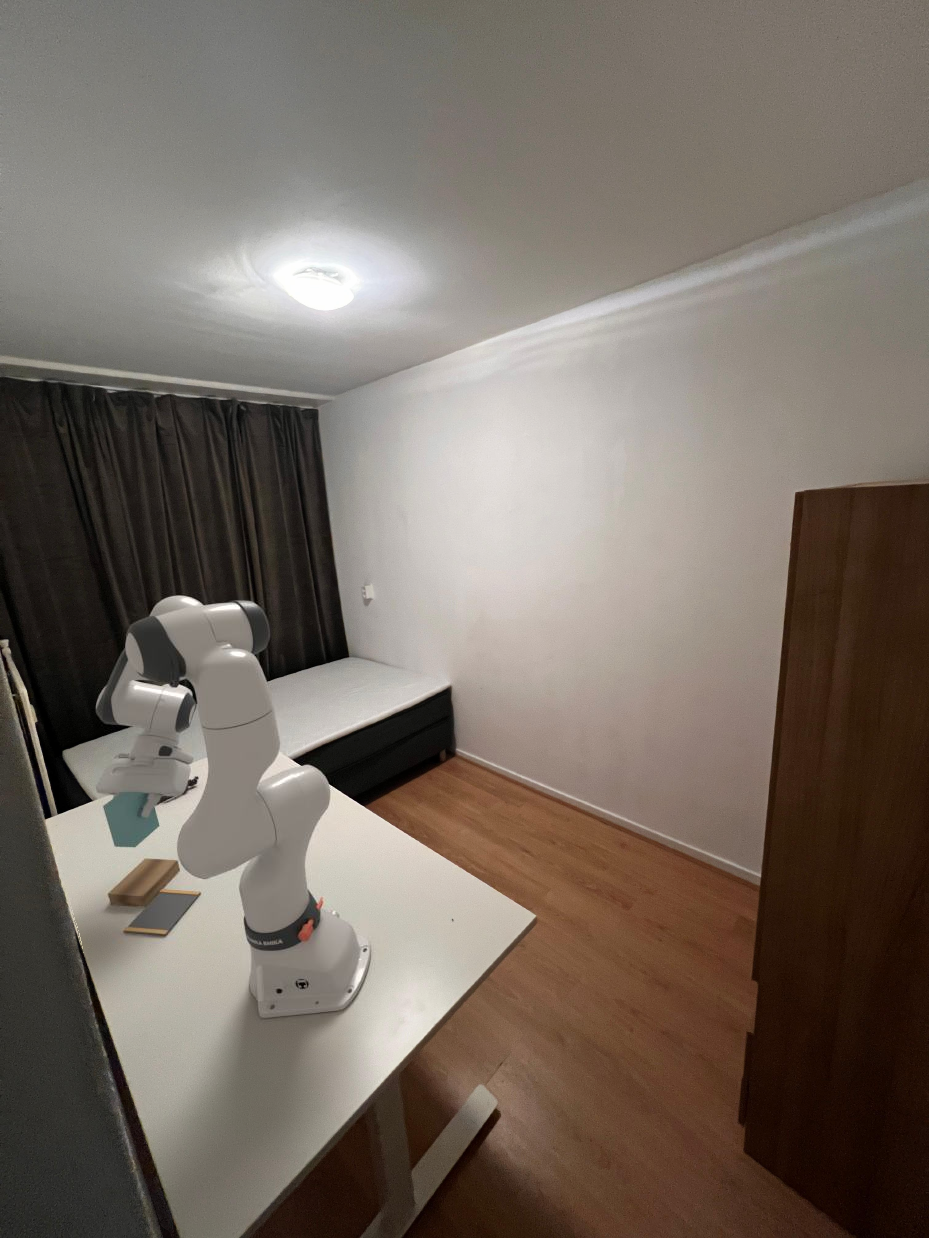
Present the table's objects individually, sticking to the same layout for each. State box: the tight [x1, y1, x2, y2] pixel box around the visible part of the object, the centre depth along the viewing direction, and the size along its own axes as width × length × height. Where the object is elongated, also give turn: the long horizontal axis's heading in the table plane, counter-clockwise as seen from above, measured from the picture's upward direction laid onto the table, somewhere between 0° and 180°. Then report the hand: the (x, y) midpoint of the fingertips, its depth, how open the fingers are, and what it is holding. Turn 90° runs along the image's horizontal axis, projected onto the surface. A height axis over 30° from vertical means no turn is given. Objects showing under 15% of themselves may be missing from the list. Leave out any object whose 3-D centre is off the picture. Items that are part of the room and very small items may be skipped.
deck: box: [107, 858, 181, 908], centre depth 114 cm, size 9×11×3 cm
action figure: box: [158, 775, 199, 803], centre depth 150 cm, size 8×6×18 cm
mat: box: [122, 888, 202, 937], centre depth 107 cm, size 10×11×1 cm
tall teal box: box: [102, 792, 160, 848], centre depth 106 cm, size 5×7×10 cm
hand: (129, 816), depth 105 cm, fingers closed on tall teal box, 5 cm apart
